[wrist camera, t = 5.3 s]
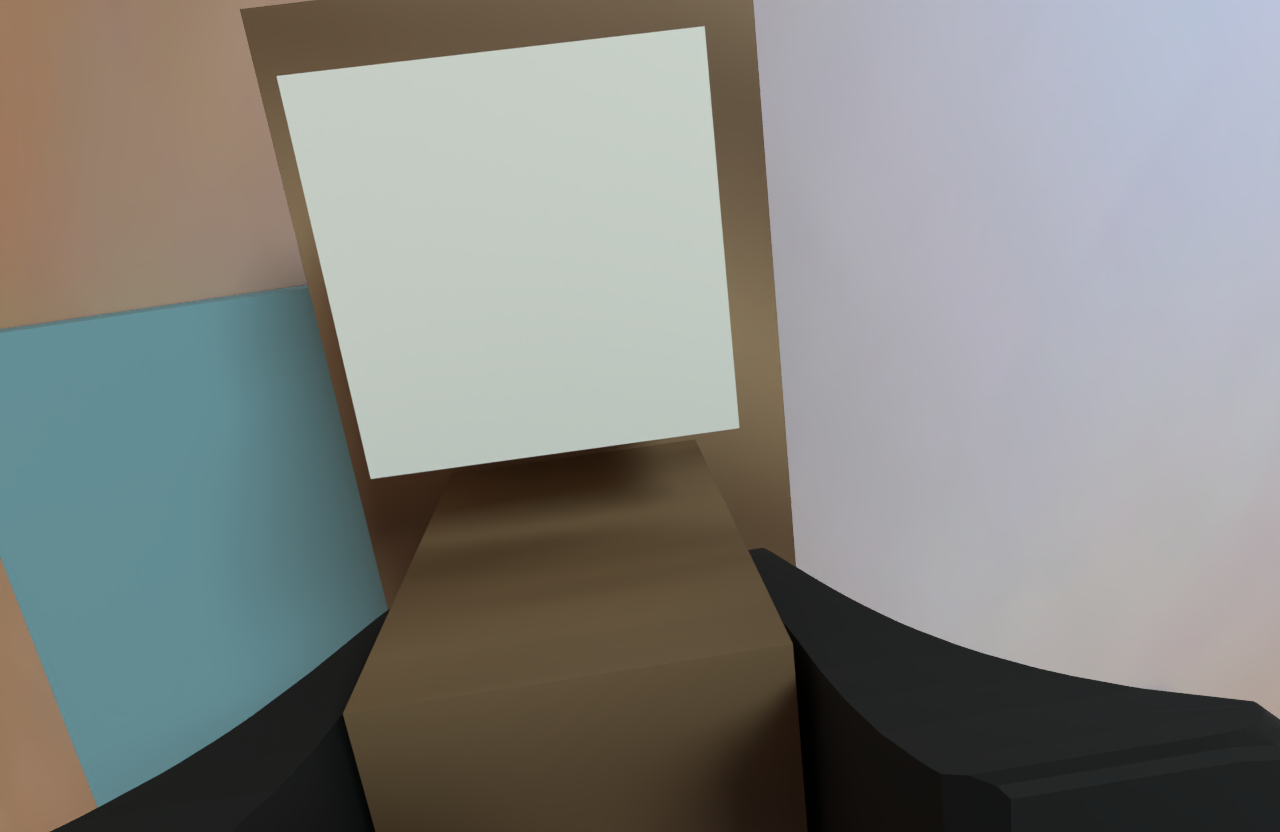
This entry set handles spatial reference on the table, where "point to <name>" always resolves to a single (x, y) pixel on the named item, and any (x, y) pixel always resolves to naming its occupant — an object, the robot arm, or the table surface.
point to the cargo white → (521, 247)
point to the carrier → (574, 521)
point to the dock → (178, 520)
